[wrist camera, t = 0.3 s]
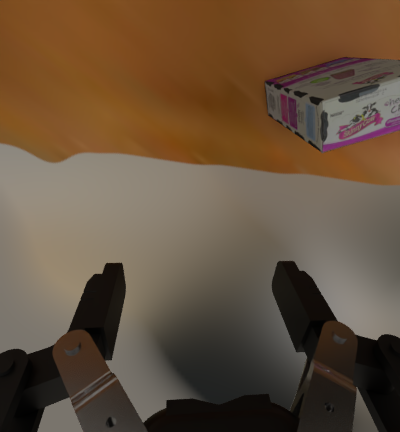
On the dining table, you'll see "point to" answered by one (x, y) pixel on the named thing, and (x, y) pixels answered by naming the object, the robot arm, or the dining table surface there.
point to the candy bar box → (338, 101)
